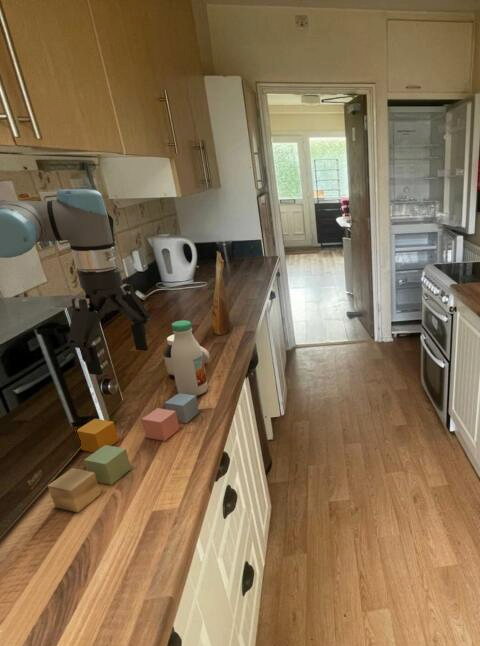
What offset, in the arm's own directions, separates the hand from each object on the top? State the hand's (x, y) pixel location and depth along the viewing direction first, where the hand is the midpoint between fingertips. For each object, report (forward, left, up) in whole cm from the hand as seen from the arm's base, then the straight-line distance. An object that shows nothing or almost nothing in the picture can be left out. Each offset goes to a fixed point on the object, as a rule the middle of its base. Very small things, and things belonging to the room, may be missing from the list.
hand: (120, 361), depth 97 cm
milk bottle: (+4, +17, -16) cm, 24 cm away
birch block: (+10, -25, -16) cm, 32 cm away
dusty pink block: (+10, -3, -16) cm, 19 cm away
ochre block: (0, -10, -16) cm, 19 cm away
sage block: (+10, -18, -16) cm, 26 cm away
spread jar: (-5, +28, -16) cm, 33 cm away
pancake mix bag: (-16, +63, -16) cm, 67 cm away
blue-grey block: (+10, +5, -16) cm, 19 cm away
